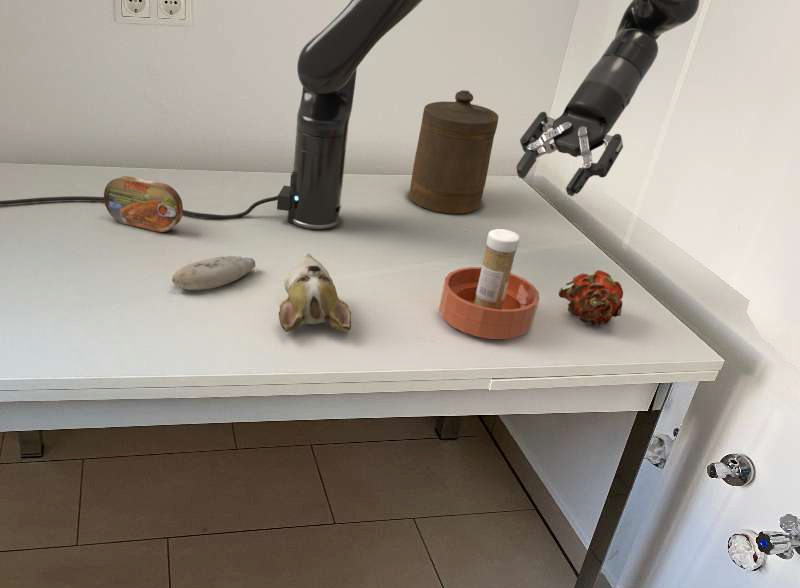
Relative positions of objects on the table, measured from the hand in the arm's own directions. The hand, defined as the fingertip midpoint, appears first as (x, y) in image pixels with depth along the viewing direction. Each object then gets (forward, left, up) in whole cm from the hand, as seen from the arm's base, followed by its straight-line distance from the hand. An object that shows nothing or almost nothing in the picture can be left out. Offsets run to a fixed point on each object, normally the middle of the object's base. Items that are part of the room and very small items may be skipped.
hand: (543, 184), depth 119 cm
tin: (-66, +7, -19) cm, 69 cm away
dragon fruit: (+11, -3, -19) cm, 23 cm away
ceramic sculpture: (-31, -17, -19) cm, 41 cm away
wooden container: (-13, +40, -19) cm, 46 cm away
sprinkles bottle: (-5, -9, -19) cm, 21 cm away
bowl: (-5, -9, -19) cm, 22 cm away
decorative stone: (-48, -11, -19) cm, 53 cm away
